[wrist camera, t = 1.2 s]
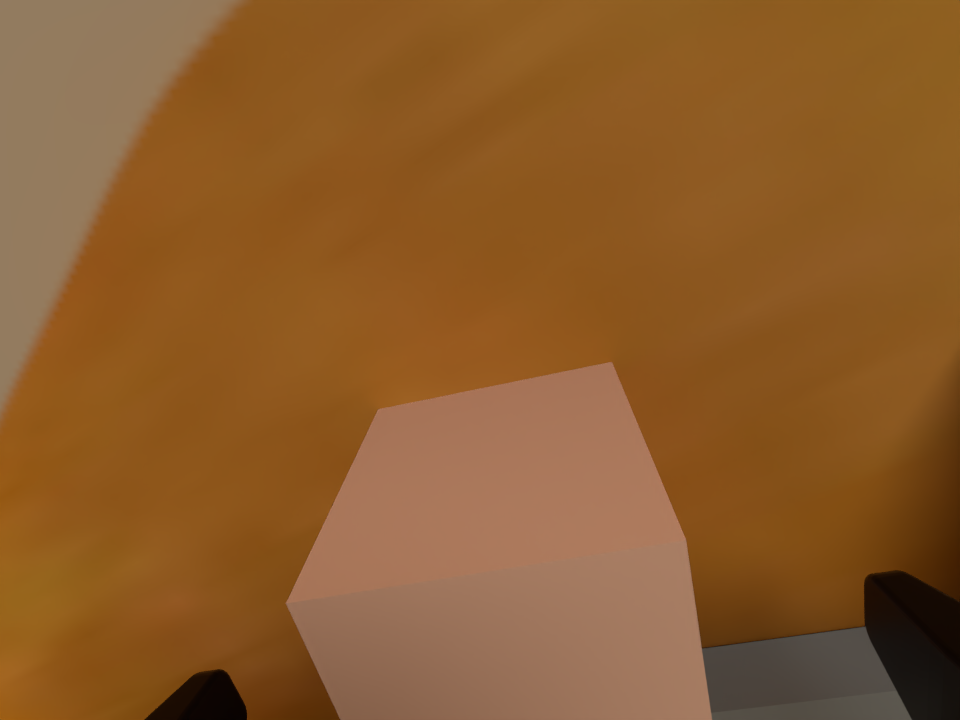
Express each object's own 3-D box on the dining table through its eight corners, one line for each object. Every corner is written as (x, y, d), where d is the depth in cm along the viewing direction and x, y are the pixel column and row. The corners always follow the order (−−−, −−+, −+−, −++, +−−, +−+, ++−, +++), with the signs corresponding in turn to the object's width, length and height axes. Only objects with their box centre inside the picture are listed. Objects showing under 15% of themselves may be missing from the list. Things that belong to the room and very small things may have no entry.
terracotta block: (611, 360, 11) (685, 539, 6) (645, 554, 12) (726, 814, 8) (378, 407, 11) (286, 603, 7) (439, 587, 13) (398, 845, 8)
